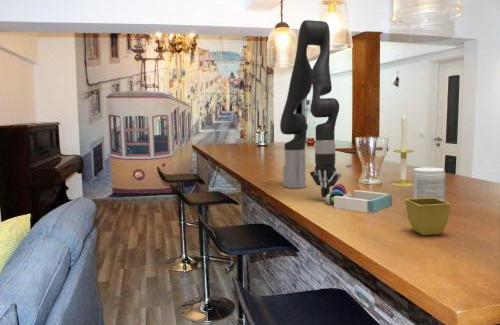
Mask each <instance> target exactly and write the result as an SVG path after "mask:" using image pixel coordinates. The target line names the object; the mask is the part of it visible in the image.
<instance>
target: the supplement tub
mask: <svg viewBox="0 0 500 325" xmlns="http://www.w3.org/2000/svg"><path fill="white" fill-rule="evenodd" d="M412 183H413V186H412V191H413V192H412V193H413V194H412V195H413V196H412V199H420V198H436V199H439V200H441V201H444V202H446V173H445V169H444V168H441V167H426V166H425V167H417V168H415V167H414V169H413V174H412Z"/></svg>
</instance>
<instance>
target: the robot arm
mask: <svg viewBox="0 0 500 325" xmlns="http://www.w3.org/2000/svg"><path fill="white" fill-rule="evenodd" d="M298 31H299V32H298V38H297V43H296V51H295V52H296V53H295V59H294V63H293V64H294V65H293V68H292V72H291V75H290V81H289V86H288V92H287V96H286V101H285V104H284V107H283V111H282V113H281V117H280V123H279V124H280V125H279V128H280V132H281V133H282V134H283V135H288V136H289V135H294V137H293V138H292V139H291V140H290V141H288V142H285V143H284V165H283V166H282V171H283V174H282V176H283V178H282V179H283V181H282V182H283V187H285V188H286V189H287V188H288V189H302V188H303V189H304V188H305V187H307V185H306V182H307V181H306V180H307V179H306V140H307V138H306V137H307V119H306V116H305V114H304V113H295V111H296V109H298V107H299V105H301V103H302V102H303V101H304V100H305V99H306V98H307V96H309V94H310V92H311V90H312V98H311V103H310V113H311V115H312V117H314V118H317V119H319V118H327V120H326V121H325V122H323V123H318V124H316V126H315V143H314V164H315V167H314V170H313V171H310V172H309V174H310V176H311V177H312V179H313V181H314V182H315V184H316V186H319V187H320V194H321V197H322V198H325V199H326V196H327V195H328V194H330V188H331V187H334V186H335V185H336V184H337V183H338V181H339V180H340V178H341V176H342V174H341V173H338V172H337V171H336V170H337V169H336V167H335V164H336V143H335V142H336V141H335V129H336V123H337V119H338V115H339V112H340V103H339V101H338V99H337V98H335V97H330V98H329V97H328V98H327V97H325V98H324V97H322V96H325V95H329V94H330V93H331V91H332V89H333V87H332V86H333V85H332V79H331V78H332V77H331V71H330V70H331V69H330V56H331V55H330V52H331V51H330V50H331V48H330V47H331V45H330V42H331V40H330V39H331V33H330V26H329V24H328V23H327V21H323V20H312V19H311V20H309V19H306V20H303V21H301V24H300V26H299V30H298ZM308 46H317V47H318V46H319V55H318V57H317V60H316V61H315V63H314V65H313V67H312V66H311V64H310V61H309V58H308V55H307V54H308V53H307V51H308ZM321 97H322V98H321Z"/></svg>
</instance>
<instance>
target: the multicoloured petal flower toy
mask: <svg viewBox="0 0 500 325" xmlns="http://www.w3.org/2000/svg"><path fill="white" fill-rule="evenodd" d="M334 196H341V197H348V198H353V194H351V192H348V190H347V189H346V187H345V185H343V184H342V183H338V184H335V185H334V186H332V190H331V192H329V194H328V195H327V196H326V198H325V202H326V203H327V204H328V205H332V204H333V203H334Z"/></svg>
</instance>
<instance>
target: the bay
mask: <svg viewBox="0 0 500 325" xmlns="http://www.w3.org/2000/svg"><path fill="white" fill-rule="evenodd" d="M392 202H393V194H392V193H386V192H385V193H383V192H375V191H368V190H367V191H365V190H357V189H355V190H353V194H352V198H348V197H341V196H334V202H333V208H334V209H340V210H347V211H354V212H359V213H368V214H374V213H376V212H378V211H381V210H384V209H385V208H389V207H390V206H392V204H393V203H392Z"/></svg>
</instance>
